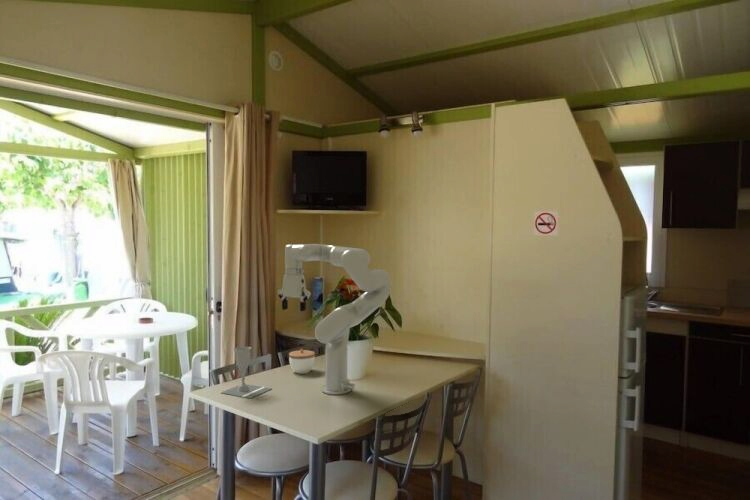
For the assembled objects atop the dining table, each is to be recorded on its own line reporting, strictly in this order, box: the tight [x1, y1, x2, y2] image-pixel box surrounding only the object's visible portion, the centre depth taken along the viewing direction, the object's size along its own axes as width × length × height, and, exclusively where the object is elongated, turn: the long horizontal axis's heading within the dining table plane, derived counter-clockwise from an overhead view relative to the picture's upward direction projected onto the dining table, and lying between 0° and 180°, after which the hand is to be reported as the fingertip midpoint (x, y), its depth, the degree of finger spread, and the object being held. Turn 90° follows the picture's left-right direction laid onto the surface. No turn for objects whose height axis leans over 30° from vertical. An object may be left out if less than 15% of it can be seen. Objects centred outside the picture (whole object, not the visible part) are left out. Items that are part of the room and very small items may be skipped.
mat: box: [220, 383, 273, 400], centre depth 215 cm, size 16×14×1 cm
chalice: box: [233, 346, 252, 392], centre depth 216 cm, size 7×7×18 cm
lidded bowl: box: [288, 348, 316, 375], centre depth 246 cm, size 13×13×11 cm
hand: (293, 310), depth 225 cm, fingers open, 9 cm apart
